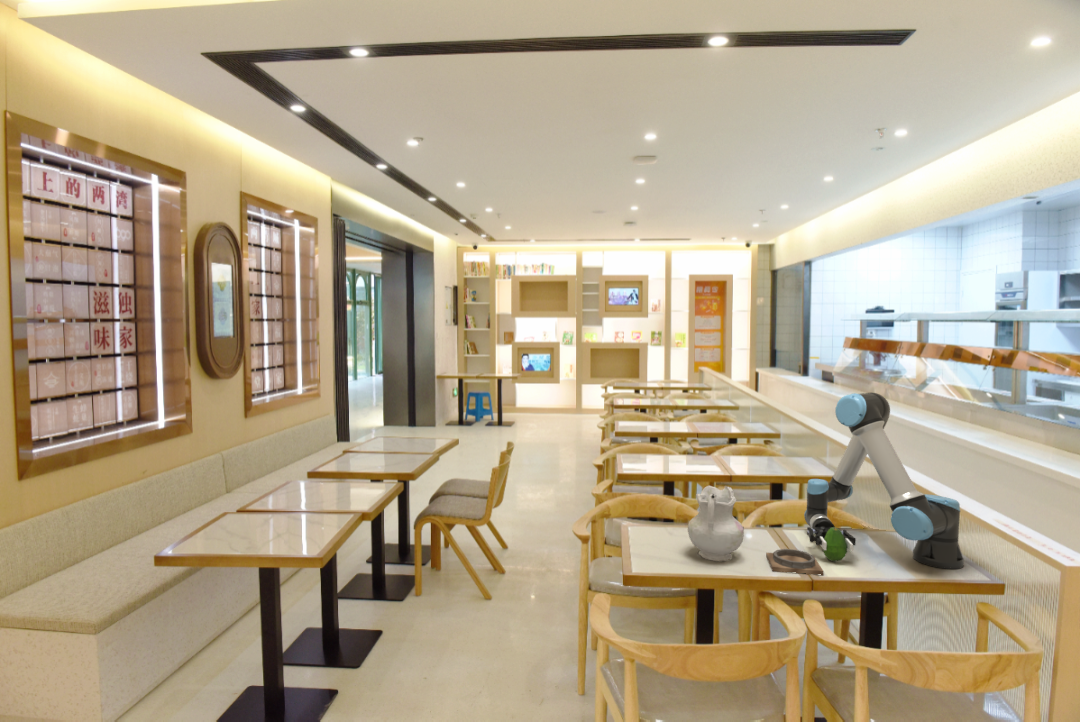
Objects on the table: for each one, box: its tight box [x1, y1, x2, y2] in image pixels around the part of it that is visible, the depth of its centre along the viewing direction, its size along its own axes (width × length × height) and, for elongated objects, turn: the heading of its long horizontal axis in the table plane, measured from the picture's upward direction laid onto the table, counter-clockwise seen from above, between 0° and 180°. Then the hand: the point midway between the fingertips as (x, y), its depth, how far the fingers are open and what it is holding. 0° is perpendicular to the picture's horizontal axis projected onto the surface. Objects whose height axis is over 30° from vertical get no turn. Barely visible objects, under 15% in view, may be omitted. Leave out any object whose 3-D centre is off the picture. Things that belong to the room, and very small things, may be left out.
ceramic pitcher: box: [687, 485, 745, 562], centre depth 221 cm, size 22×20×25 cm
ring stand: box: [765, 548, 825, 576], centre depth 214 cm, size 16×14×4 cm
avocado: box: [822, 526, 848, 562], centre depth 218 cm, size 8×8×12 cm
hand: (838, 547), depth 214 cm, fingers closed on avocado, 8 cm apart
